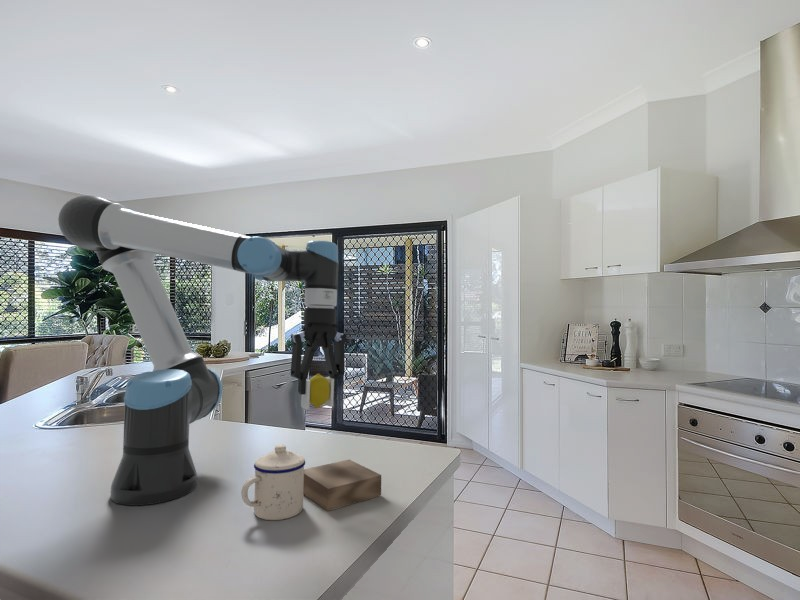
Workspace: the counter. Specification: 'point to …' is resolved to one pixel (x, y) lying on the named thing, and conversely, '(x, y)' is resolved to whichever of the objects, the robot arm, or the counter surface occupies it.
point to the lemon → (319, 390)
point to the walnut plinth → (341, 484)
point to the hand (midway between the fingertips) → (317, 406)
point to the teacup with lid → (277, 485)
